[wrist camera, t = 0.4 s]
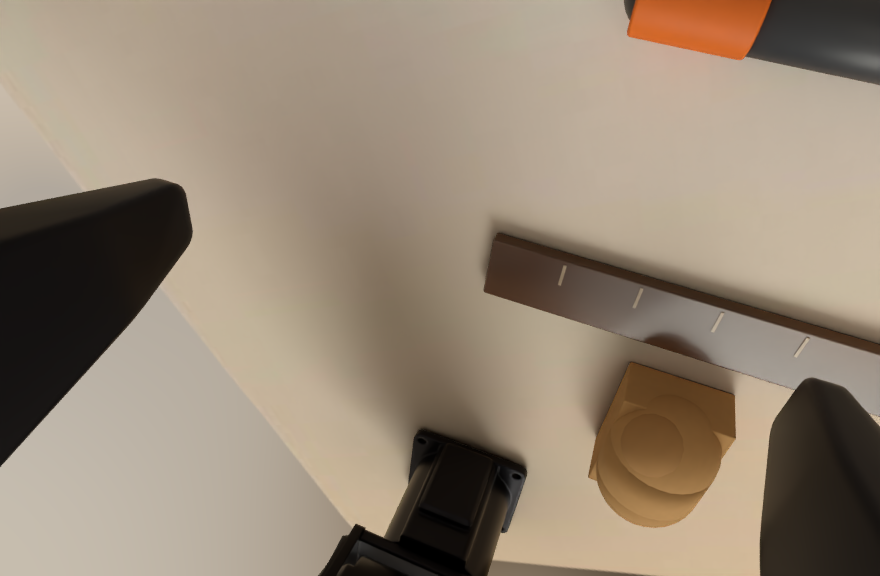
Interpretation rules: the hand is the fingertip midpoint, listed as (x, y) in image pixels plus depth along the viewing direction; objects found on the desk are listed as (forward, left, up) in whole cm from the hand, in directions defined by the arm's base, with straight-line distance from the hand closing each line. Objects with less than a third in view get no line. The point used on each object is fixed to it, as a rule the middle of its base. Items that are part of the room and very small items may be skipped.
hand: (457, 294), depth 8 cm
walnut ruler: (-10, -7, -14) cm, 18 cm away
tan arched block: (-16, -7, -14) cm, 22 cm away
